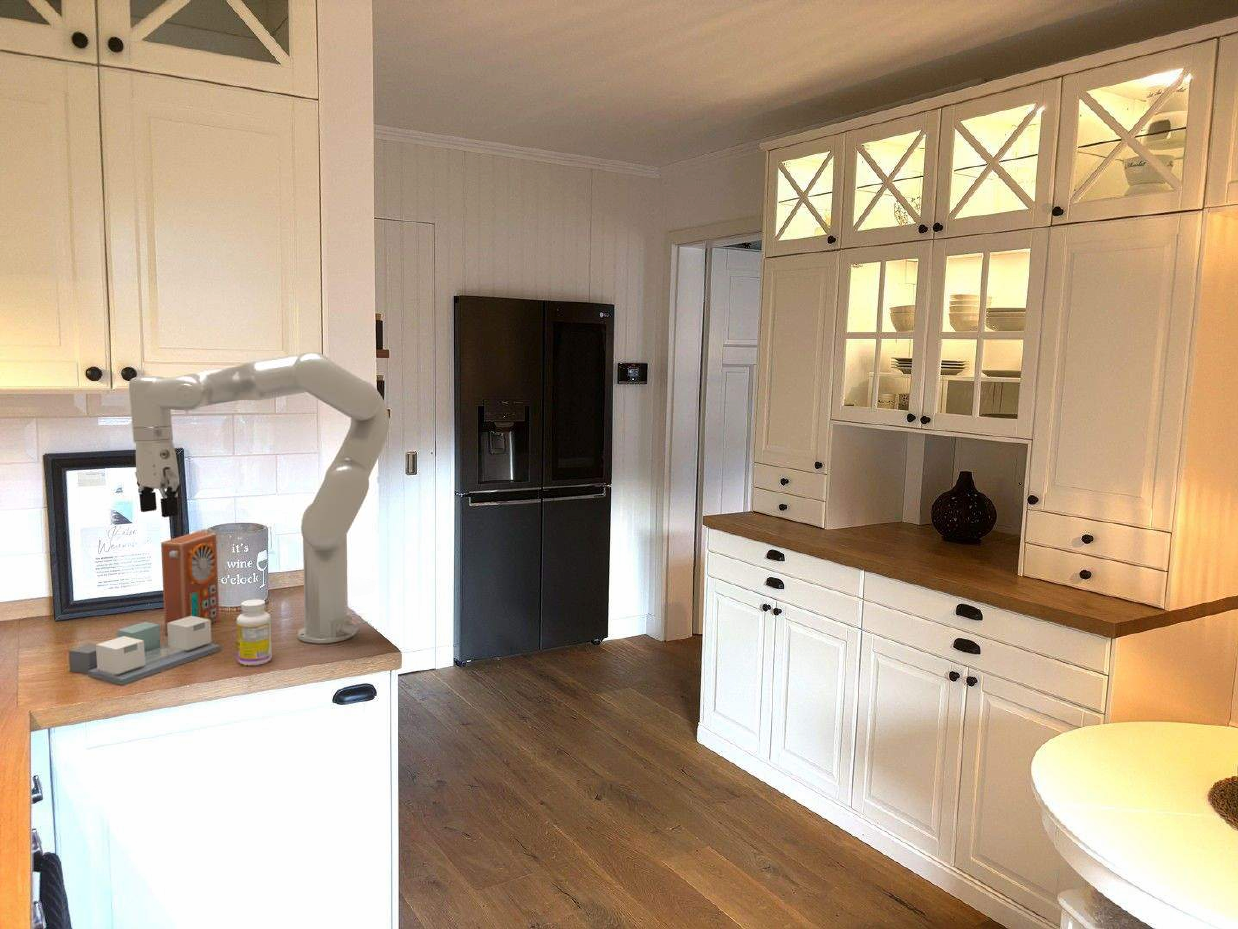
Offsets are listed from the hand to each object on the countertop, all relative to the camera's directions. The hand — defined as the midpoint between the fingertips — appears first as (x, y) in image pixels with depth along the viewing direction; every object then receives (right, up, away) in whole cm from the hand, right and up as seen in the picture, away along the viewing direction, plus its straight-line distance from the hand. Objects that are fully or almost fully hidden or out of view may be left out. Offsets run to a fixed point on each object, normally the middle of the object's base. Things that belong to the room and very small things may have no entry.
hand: (159, 513), depth 192 cm
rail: (+3, -30, -6) cm, 30 cm away
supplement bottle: (+22, -31, -4) cm, 38 cm away
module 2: (-4, -30, -1) cm, 30 cm away
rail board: (+3, -31, -6) cm, 32 cm away
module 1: (-9, -31, -10) cm, 34 cm away
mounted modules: (+3, -29, -6) cm, 30 cm away
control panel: (-2, -28, +18) cm, 33 cm away
